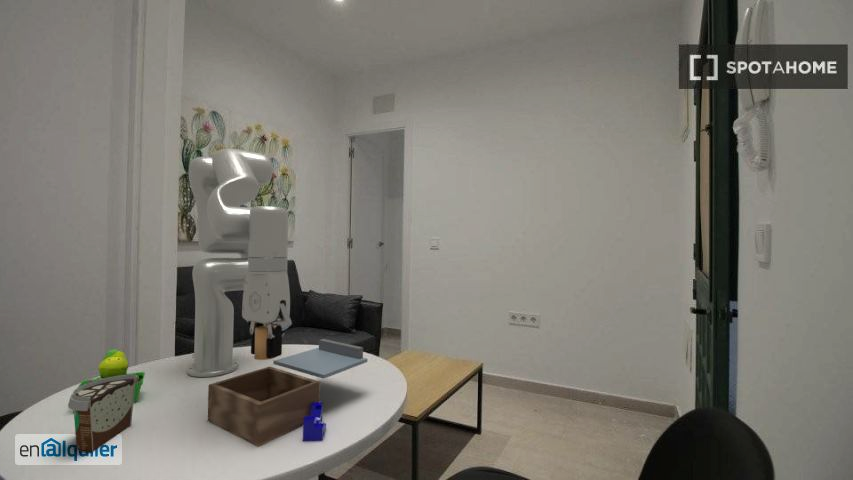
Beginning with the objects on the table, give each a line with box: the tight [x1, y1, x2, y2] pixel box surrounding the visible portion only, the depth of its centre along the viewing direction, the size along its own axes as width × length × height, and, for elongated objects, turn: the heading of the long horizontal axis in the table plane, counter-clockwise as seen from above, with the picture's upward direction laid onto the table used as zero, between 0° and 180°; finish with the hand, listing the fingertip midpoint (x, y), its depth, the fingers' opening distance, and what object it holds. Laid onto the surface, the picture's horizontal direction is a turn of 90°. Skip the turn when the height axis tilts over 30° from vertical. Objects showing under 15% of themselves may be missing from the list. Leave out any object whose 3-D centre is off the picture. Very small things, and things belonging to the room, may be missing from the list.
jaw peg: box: [254, 324, 277, 361], centre depth 77 cm, size 4×4×6 cm
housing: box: [207, 366, 321, 448], centre depth 77 cm, size 17×14×8 cm
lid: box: [272, 338, 368, 379], centre depth 90 cm, size 17×14×3 cm
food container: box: [67, 374, 137, 453], centre depth 68 cm, size 12×6×10 cm, turn 5°
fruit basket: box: [77, 349, 146, 404], centre depth 84 cm, size 11×9×11 cm
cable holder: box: [302, 401, 327, 442], centre depth 73 cm, size 8×4×4 cm, turn 4°
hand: (266, 353), depth 77 cm, fingers closed on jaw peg, 4 cm apart
